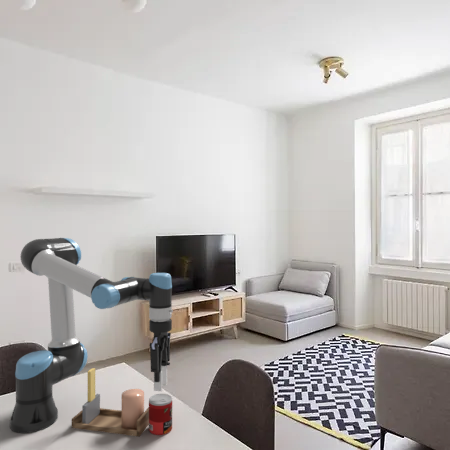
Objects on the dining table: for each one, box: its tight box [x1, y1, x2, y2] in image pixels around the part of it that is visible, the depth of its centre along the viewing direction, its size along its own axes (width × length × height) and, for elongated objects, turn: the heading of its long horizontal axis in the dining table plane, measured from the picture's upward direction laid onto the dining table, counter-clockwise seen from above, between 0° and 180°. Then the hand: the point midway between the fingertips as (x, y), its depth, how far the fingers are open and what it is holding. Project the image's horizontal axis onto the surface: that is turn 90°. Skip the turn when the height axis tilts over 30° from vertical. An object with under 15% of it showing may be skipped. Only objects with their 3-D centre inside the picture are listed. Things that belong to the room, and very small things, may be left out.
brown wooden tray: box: [71, 406, 149, 438], centre depth 131 cm, size 25×12×6 cm, turn 78°
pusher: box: [81, 367, 101, 424], centre depth 133 cm, size 1×9×18 cm, turn 168°
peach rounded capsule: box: [121, 388, 145, 430], centre depth 130 cm, size 8×8×11 cm
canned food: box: [148, 393, 173, 436], centre depth 128 cm, size 8×8×11 cm
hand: (160, 387), depth 128 cm, fingers open, 4 cm apart
